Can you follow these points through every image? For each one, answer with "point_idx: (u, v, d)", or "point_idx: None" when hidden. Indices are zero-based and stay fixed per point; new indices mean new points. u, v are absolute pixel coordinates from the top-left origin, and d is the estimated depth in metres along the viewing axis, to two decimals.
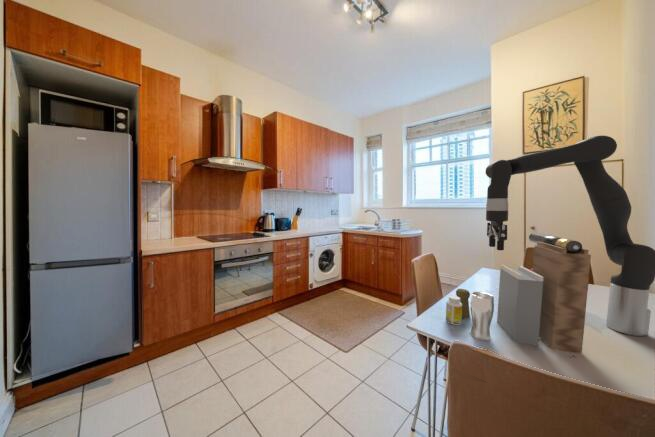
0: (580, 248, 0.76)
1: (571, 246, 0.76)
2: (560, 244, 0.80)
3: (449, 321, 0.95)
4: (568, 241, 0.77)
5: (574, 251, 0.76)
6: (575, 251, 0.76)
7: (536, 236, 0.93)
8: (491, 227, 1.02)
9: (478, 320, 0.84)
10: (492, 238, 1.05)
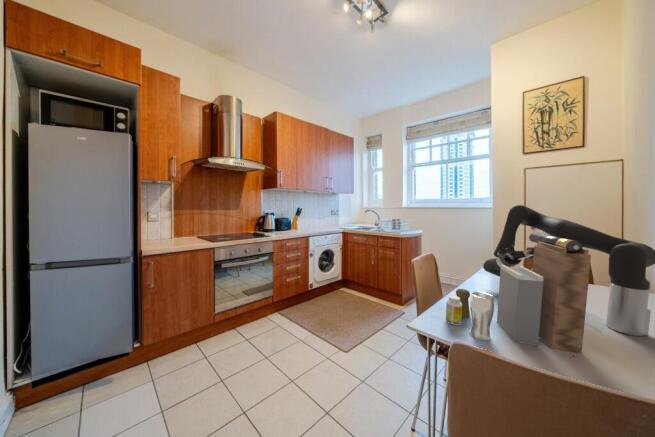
0: (580, 248, 0.76)
1: (571, 246, 0.76)
2: (560, 244, 0.80)
3: (449, 321, 0.95)
4: (568, 241, 0.77)
5: (574, 251, 0.76)
6: (575, 251, 0.76)
7: (536, 236, 0.93)
8: (517, 258, 1.11)
9: (478, 320, 0.84)
10: (531, 252, 1.06)
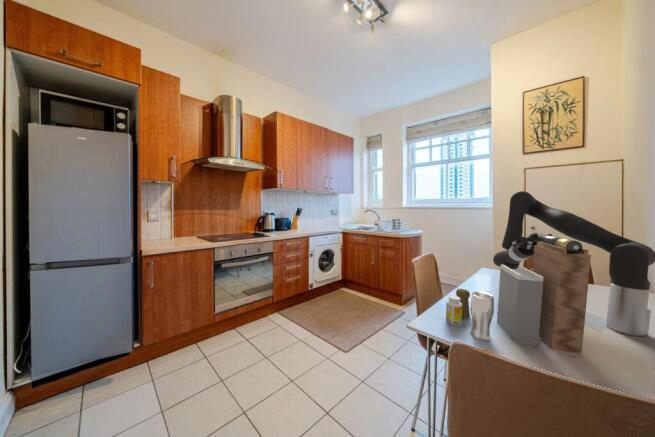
0: (580, 248, 0.76)
1: (571, 246, 0.76)
2: (560, 244, 0.80)
3: (449, 321, 0.95)
4: (568, 241, 0.77)
5: (574, 251, 0.76)
6: (575, 251, 0.76)
7: None
8: (533, 248, 0.99)
9: (478, 320, 0.84)
10: None
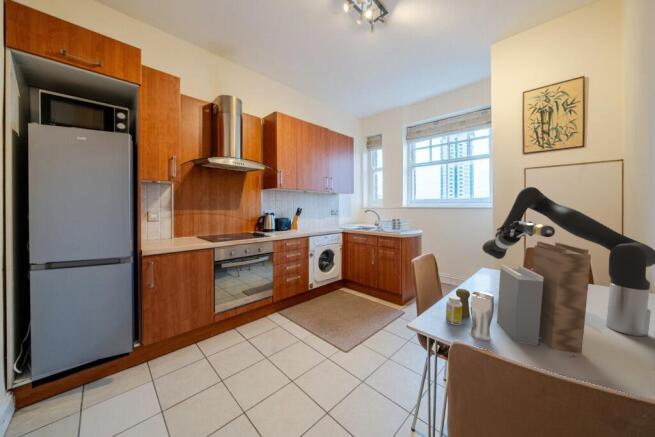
0: (553, 232, 0.84)
1: (545, 230, 0.85)
2: (536, 229, 0.88)
3: (449, 321, 0.95)
4: (542, 226, 0.85)
5: (548, 235, 0.84)
6: (548, 235, 0.84)
7: None
8: (516, 236, 1.07)
9: (478, 320, 0.84)
10: None
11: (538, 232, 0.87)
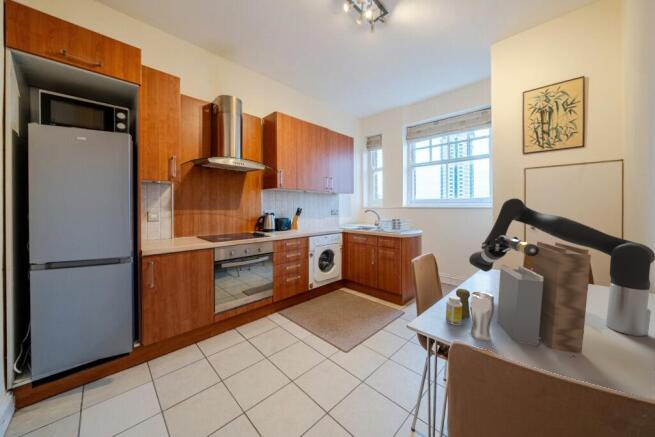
0: (537, 251, 0.80)
1: (529, 249, 0.81)
2: (520, 247, 0.84)
3: (449, 321, 0.95)
4: (526, 244, 0.82)
5: (531, 254, 0.81)
6: (532, 254, 0.80)
7: None
8: (502, 250, 1.04)
9: (478, 320, 0.84)
10: None
11: (522, 250, 0.83)
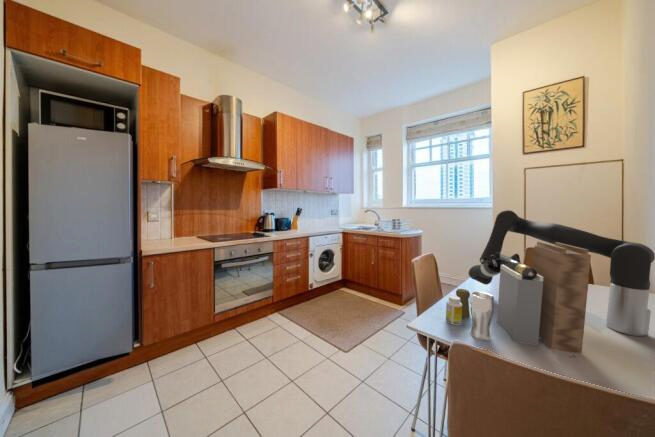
0: (535, 275, 0.81)
1: (527, 273, 0.81)
2: (518, 270, 0.85)
3: (449, 321, 0.95)
4: (524, 268, 0.82)
5: (529, 277, 0.81)
6: (530, 277, 0.81)
7: (501, 259, 0.98)
8: None
9: (478, 320, 0.84)
10: (512, 258, 0.99)
11: (520, 273, 0.83)
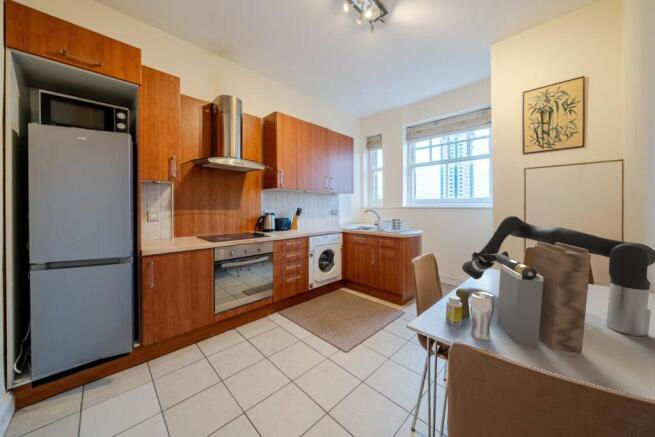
0: (535, 274, 0.81)
1: (526, 273, 0.81)
2: (518, 270, 0.85)
3: (449, 321, 0.95)
4: (524, 268, 0.82)
5: (529, 277, 0.81)
6: (530, 277, 0.81)
7: (501, 259, 0.98)
8: (490, 261, 1.15)
9: (478, 320, 0.84)
10: None
11: (520, 273, 0.83)
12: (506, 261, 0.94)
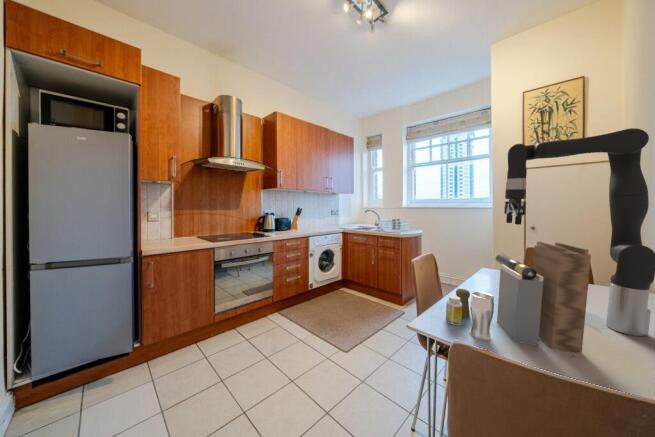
0: (535, 274, 0.81)
1: (526, 273, 0.81)
2: (518, 270, 0.85)
3: (449, 321, 0.95)
4: (524, 268, 0.82)
5: (529, 277, 0.81)
6: (530, 277, 0.81)
7: (501, 259, 0.98)
8: (509, 205, 1.13)
9: (478, 320, 0.84)
10: (509, 215, 1.16)
11: (520, 273, 0.83)
12: (506, 261, 0.94)
